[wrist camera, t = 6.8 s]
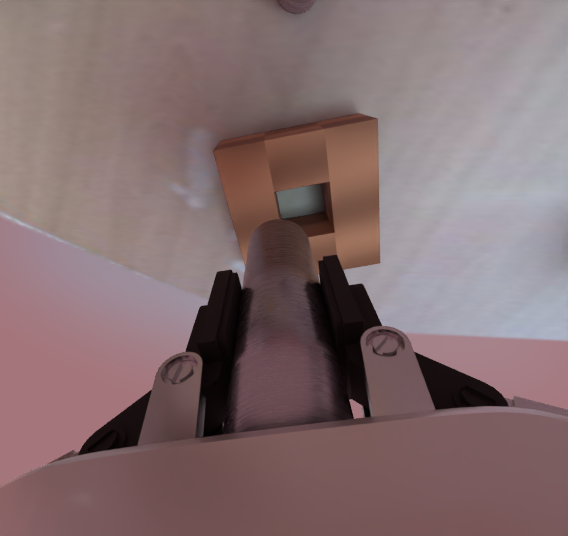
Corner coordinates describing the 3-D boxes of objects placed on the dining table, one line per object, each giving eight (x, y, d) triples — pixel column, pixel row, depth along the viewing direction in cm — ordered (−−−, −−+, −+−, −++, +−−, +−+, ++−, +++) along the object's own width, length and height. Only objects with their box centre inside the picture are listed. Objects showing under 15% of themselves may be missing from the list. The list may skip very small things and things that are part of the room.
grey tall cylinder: (242, 224, 15) (183, 518, 5) (306, 214, 15) (385, 495, 5) (254, 278, 17) (229, 583, 6) (312, 269, 17) (381, 568, 6)
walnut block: (221, 140, 27) (212, 150, 22) (359, 113, 26) (377, 118, 22) (252, 259, 33) (250, 285, 28) (365, 239, 32) (380, 263, 28)
